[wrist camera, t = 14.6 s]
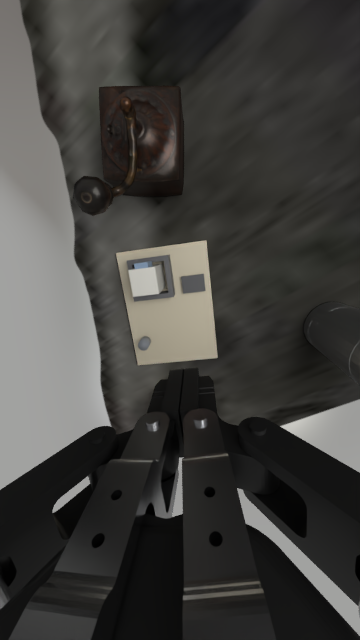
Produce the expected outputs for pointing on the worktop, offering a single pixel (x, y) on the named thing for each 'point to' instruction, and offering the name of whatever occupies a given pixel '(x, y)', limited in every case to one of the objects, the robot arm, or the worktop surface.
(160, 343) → the board
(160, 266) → the plug
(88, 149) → the worktop surface
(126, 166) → the manual coffee grinder
